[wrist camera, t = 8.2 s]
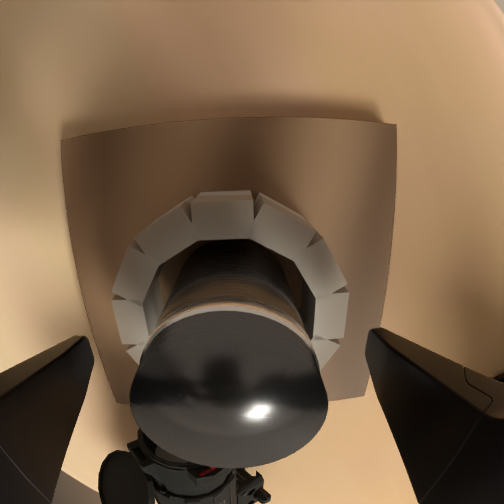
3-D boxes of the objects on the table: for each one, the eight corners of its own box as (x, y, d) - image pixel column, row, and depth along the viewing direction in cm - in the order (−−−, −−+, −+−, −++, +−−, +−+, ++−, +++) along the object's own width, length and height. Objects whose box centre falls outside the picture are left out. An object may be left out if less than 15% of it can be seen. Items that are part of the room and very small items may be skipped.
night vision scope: (216, 487, 23) (128, 529, 17) (204, 345, 18) (48, 397, 12) (273, 537, 18) (179, 592, 11) (305, 416, 13) (103, 525, 6)
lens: (288, 234, 12) (343, 328, 6) (286, 335, 14) (318, 462, 7) (170, 239, 12) (103, 334, 6) (183, 338, 14) (153, 465, 7)
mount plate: (386, 125, 12) (428, 121, 9) (359, 384, 16) (378, 426, 13) (71, 140, 12) (26, 141, 8) (121, 391, 16) (104, 433, 13)
